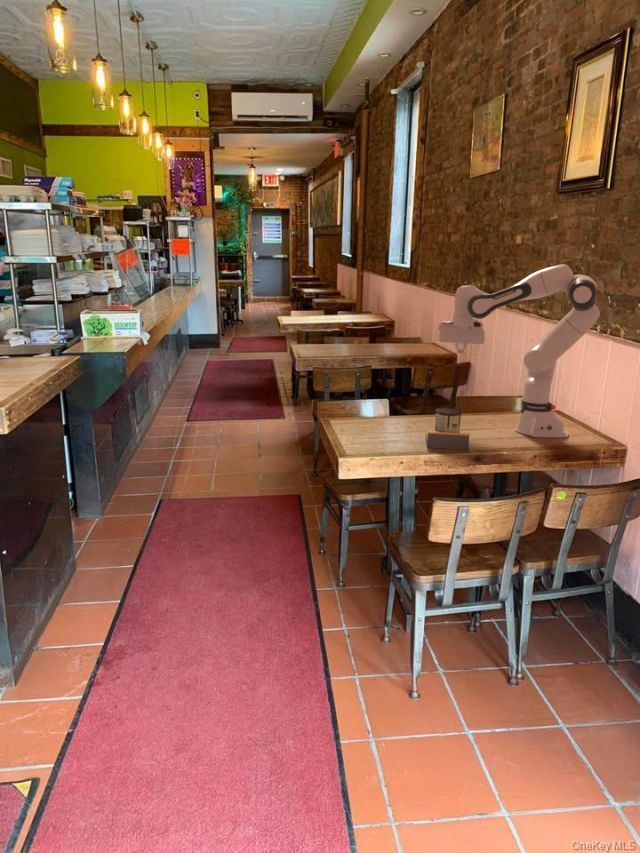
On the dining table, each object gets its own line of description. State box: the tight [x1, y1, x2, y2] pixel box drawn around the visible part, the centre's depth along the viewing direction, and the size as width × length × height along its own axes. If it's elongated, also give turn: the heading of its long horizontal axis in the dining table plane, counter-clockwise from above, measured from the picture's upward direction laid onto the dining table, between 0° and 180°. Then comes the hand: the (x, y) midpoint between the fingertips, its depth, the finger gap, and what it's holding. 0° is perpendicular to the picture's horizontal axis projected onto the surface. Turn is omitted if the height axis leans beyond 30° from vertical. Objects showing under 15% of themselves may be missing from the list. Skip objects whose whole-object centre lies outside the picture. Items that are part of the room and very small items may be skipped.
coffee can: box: [434, 406, 462, 433], centre depth 259 cm, size 10×10×14 cm
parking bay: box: [425, 430, 470, 451], centre depth 259 cm, size 16×13×7 cm
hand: (460, 353), depth 282 cm, fingers closed
